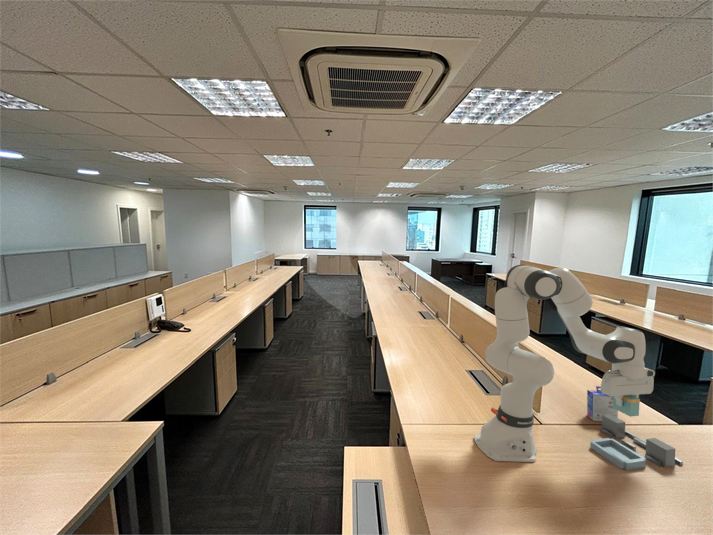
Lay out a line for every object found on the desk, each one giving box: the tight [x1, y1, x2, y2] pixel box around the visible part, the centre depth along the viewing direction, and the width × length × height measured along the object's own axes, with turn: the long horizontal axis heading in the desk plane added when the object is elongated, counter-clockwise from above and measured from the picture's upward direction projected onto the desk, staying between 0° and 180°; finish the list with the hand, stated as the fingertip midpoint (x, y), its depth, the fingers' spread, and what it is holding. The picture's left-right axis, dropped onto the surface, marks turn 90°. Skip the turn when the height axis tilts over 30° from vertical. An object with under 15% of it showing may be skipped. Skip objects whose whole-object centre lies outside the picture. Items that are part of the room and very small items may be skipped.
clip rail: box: [600, 426, 684, 467], centre depth 110 cm, size 12×22×2 cm, turn 9°
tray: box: [589, 437, 647, 471], centre depth 104 cm, size 10×12×2 cm
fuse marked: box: [613, 395, 641, 417], centre depth 106 cm, size 4×6×6 cm
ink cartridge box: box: [586, 385, 619, 422], centre depth 128 cm, size 10×6×14 cm, turn 76°
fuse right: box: [645, 437, 676, 469], centre depth 102 cm, size 4×6×6 cm, turn 9°
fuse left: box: [601, 414, 626, 439], centre depth 117 cm, size 4×6×6 cm, turn 9°
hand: (625, 405), depth 106 cm, fingers closed on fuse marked, 4 cm apart
